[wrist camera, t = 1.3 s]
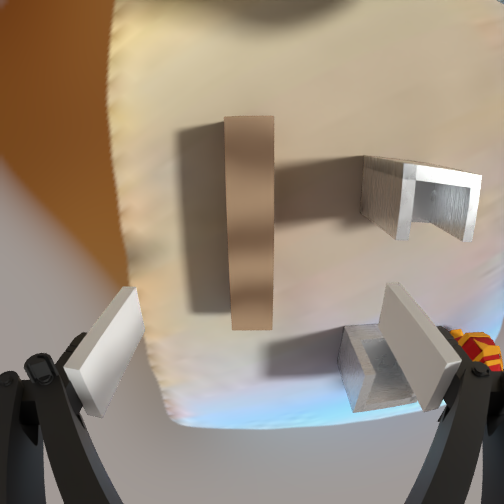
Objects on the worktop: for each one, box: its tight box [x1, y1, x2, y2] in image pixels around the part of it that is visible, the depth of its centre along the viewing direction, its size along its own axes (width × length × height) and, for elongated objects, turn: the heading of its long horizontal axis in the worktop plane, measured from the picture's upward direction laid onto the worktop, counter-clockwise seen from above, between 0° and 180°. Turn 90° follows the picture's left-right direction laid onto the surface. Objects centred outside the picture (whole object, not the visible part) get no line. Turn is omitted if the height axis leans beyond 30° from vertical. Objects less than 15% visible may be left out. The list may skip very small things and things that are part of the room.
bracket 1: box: [337, 324, 417, 413], centre depth 32 cm, size 6×8×9 cm
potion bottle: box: [450, 329, 503, 371], centre depth 30 cm, size 10×10×15 cm
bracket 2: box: [360, 155, 481, 242], centre depth 25 cm, size 6×8×9 cm
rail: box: [224, 116, 274, 330], centre depth 29 cm, size 20×4×5 cm, turn 1°
